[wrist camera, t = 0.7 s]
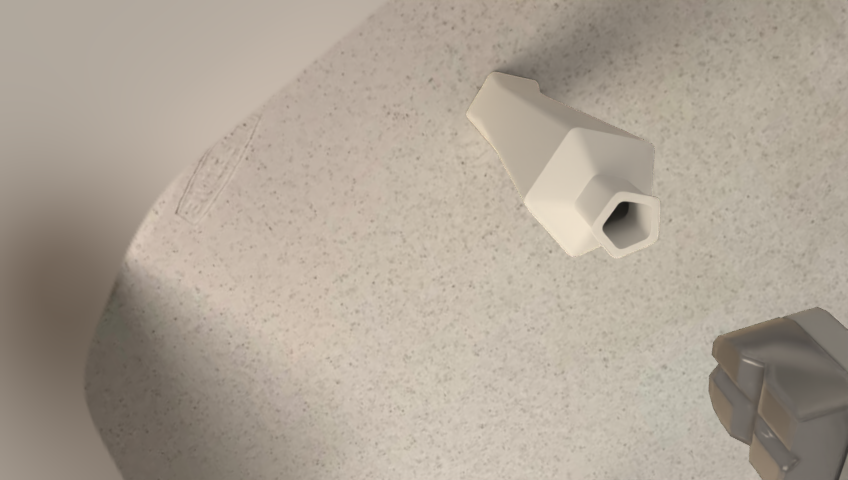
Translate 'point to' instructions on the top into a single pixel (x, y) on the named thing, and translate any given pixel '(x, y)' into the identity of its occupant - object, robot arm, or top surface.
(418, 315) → the top surface
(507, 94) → the white faceted vase
